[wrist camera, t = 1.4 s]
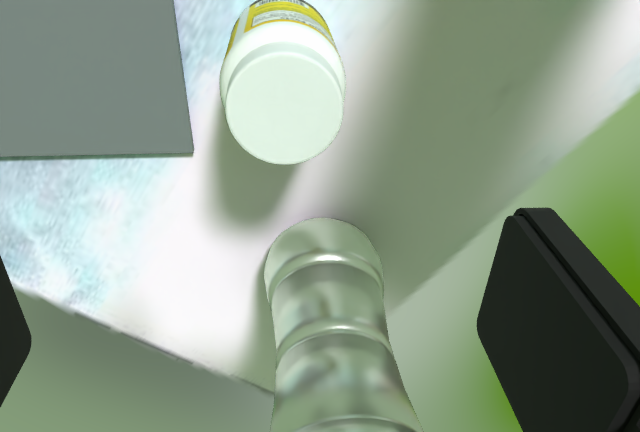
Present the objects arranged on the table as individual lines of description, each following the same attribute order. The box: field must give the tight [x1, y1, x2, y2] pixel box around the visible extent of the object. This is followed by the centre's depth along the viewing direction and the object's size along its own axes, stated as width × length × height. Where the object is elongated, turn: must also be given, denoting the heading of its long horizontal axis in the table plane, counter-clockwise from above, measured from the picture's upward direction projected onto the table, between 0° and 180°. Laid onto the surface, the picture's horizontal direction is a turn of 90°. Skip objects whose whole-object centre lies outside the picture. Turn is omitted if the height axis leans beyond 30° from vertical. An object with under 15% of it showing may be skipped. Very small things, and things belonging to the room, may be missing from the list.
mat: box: [0, 0, 194, 157], centre depth 22 cm, size 14×14×1 cm
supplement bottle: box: [220, 0, 346, 165], centre depth 20 cm, size 5×5×8 cm
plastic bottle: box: [264, 218, 423, 432], centre depth 22 cm, size 6×7×20 cm
